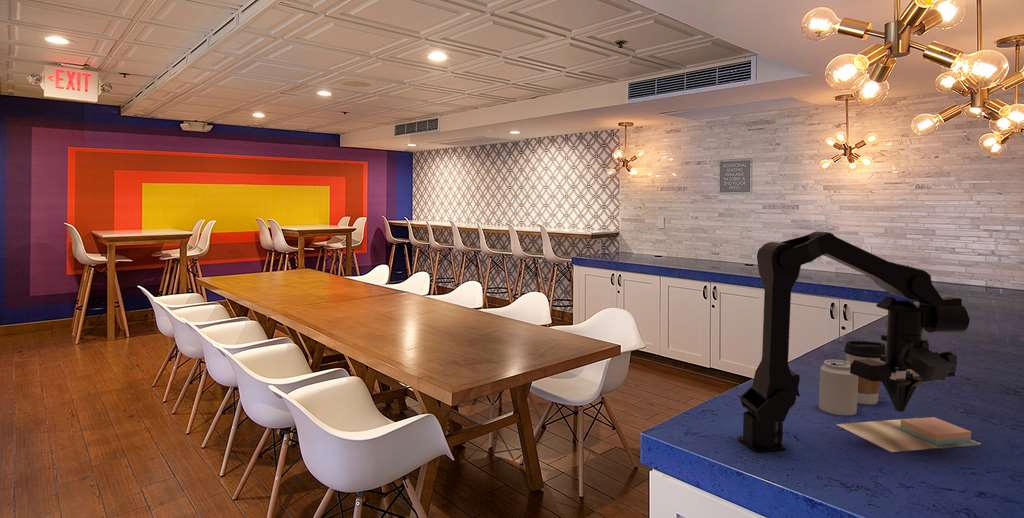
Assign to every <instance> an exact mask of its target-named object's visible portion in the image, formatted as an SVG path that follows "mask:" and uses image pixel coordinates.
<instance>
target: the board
mask: <svg viewBox="0 0 1024 518" xmlns="http://www.w3.org/2000/svg"><path fill="white" fill-rule="evenodd" d="M916 418H917V417H913V418H909V419H916ZM903 419H904V418H899V419H898V418H897V419H887V420H875V421H873V420H872V421H863V422H861V421H860V422H850V423H849V422H847V423H837V424H836V426H838V427H840V428H842V429H845V430H846V431H848V432H850V433H852V434H854V435H856V436H858V437H861V438H862V439H864V440H866V441H868V442H870V443H872V444H875V446H879V447H880V448H882V449H884V450H886V451H888V452H891V453H897V452H898V453H900V452H908V451H909V452H910V451H919V450H930V449H942V450H943V449H944V450H945V449H952V448H962V447H963V448H964V447H973V446H974V447H976V446H982V443H981V442H977V441H976V440H972V439H971V442H962V443H951V444H940V445H935V444H932V443H930V442H928V441H926V440H923V439H921V438H919V437H917V436H914V435H912V434H910V433H908V432H906V431H903V430H901V429H900V426H901V420H903Z"/></svg>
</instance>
